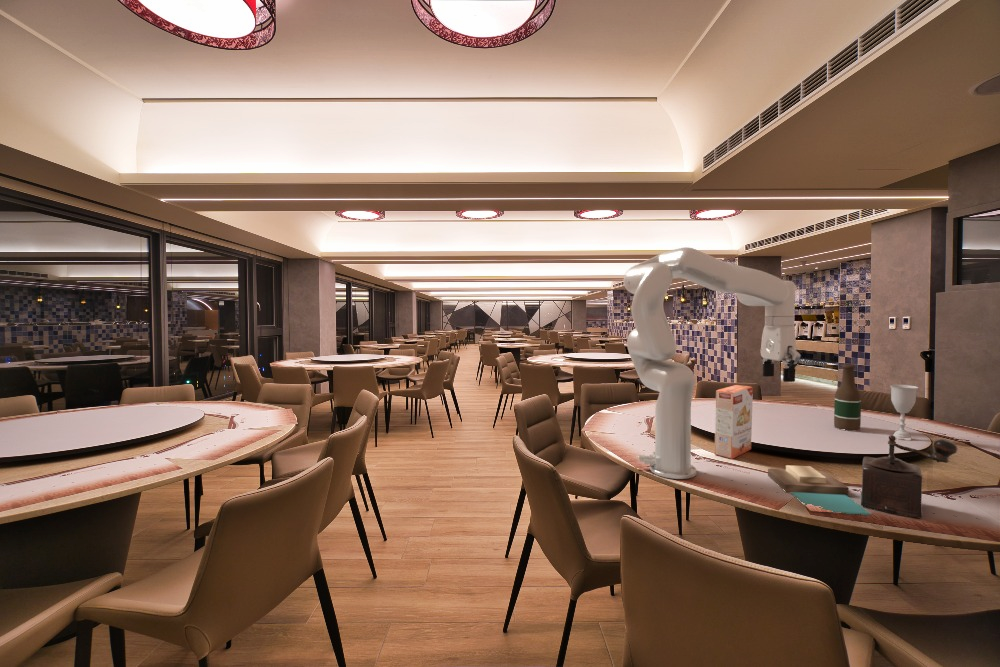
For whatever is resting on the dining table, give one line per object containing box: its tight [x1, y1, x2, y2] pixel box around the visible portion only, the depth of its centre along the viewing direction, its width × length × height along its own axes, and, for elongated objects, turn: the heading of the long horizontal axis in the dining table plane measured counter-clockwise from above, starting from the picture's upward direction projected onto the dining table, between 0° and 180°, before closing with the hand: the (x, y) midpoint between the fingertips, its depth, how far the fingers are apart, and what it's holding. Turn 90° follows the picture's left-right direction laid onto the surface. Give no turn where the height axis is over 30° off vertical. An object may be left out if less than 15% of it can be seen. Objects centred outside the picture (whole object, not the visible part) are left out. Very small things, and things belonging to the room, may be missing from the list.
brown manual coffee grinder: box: [860, 434, 958, 519], centre depth 101 cm, size 16×11×18 cm
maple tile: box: [785, 464, 826, 484], centre depth 116 cm, size 6×8×2 cm
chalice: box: [889, 384, 919, 438], centre depth 151 cm, size 7×7×18 cm
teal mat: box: [790, 492, 872, 516], centre depth 105 cm, size 12×10×1 cm
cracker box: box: [714, 384, 754, 460], centre depth 141 cm, size 14×6×21 cm, turn 129°
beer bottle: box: [833, 363, 862, 431], centre depth 164 cm, size 8×8×24 cm
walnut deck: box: [767, 468, 850, 497], centre depth 115 cm, size 14×11×2 cm
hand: (778, 378), depth 134 cm, fingers open, 9 cm apart
